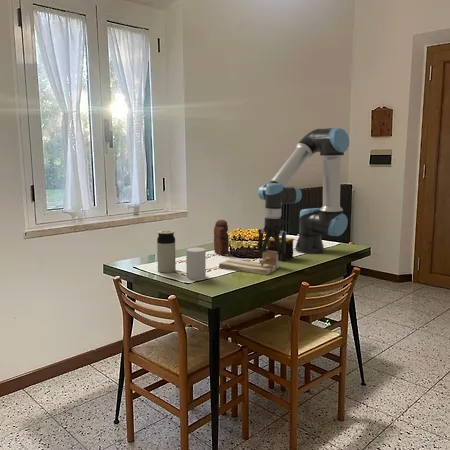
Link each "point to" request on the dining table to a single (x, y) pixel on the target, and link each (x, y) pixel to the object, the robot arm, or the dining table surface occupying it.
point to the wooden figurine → (221, 238)
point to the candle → (289, 247)
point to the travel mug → (166, 251)
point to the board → (247, 266)
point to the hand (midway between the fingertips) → (270, 266)
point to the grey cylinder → (196, 263)
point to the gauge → (268, 258)
